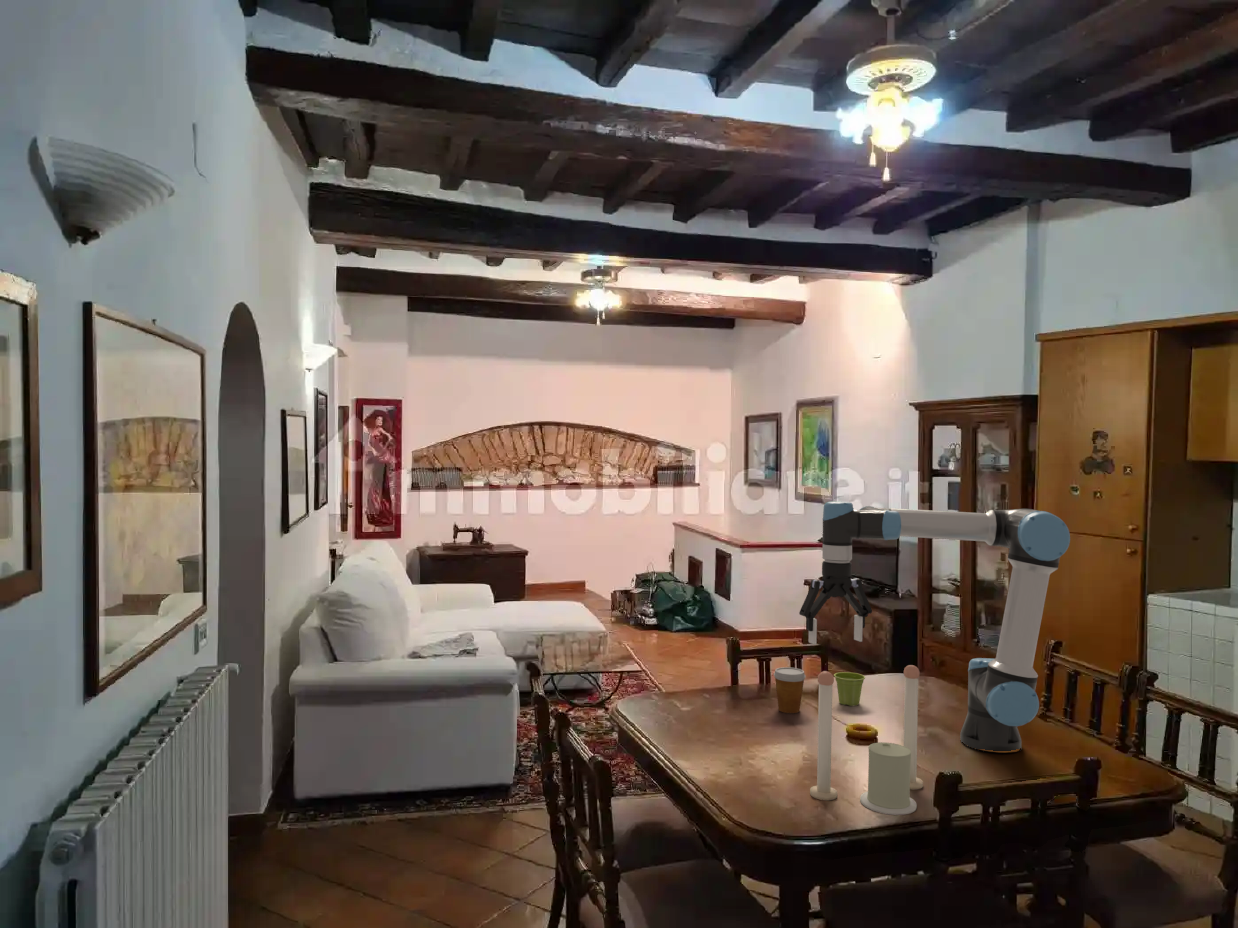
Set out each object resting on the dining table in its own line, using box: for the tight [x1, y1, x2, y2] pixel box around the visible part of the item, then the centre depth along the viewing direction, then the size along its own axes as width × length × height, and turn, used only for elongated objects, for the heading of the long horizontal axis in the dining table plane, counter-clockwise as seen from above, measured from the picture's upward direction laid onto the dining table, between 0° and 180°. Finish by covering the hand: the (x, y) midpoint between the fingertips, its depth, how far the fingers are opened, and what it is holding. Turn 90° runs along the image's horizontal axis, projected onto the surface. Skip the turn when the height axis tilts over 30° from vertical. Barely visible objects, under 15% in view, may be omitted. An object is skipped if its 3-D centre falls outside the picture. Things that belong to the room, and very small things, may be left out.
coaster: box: [859, 790, 917, 816], centre depth 189 cm, size 12×12×1 cm
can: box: [867, 741, 911, 809], centre depth 189 cm, size 9×9×12 cm
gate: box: [809, 664, 924, 801], centre depth 197 cm, size 29×6×28 cm, turn 107°
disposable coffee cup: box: [773, 666, 807, 714], centre depth 257 cm, size 10×10×12 cm
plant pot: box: [833, 671, 866, 707], centre depth 265 cm, size 9×9×9 cm
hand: (835, 642), depth 222 cm, fingers open, 13 cm apart
